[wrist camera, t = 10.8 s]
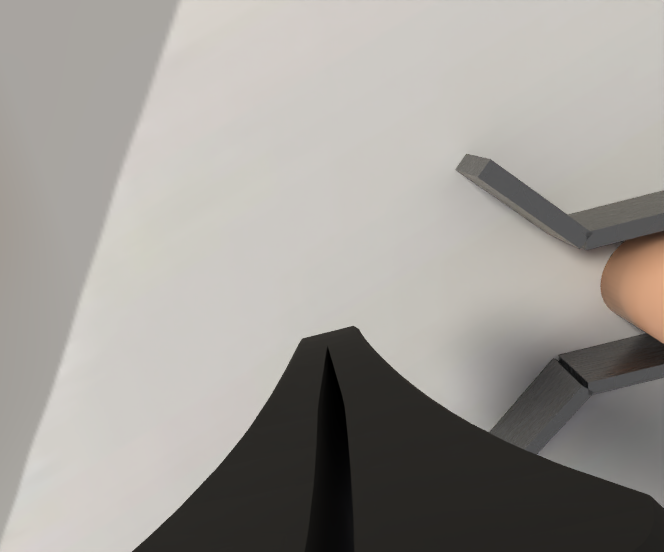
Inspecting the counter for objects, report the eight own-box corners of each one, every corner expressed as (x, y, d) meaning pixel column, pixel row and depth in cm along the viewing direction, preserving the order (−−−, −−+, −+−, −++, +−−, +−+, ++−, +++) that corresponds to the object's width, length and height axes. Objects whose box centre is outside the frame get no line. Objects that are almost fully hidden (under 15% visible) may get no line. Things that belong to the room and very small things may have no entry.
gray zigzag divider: (710, 387, 24) (754, 416, 22) (490, 440, 24) (509, 474, 22) (747, 81, 18) (812, 76, 16) (453, 157, 18) (476, 163, 16)
